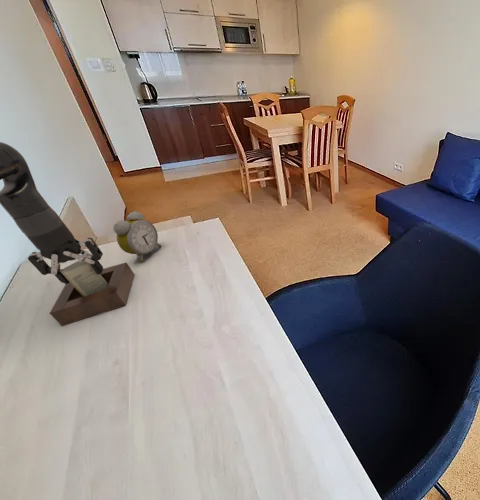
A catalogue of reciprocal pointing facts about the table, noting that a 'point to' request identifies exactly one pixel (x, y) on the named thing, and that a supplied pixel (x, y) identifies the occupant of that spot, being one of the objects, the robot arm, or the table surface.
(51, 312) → the socket block
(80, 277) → the cosmetic box
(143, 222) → the alarm clock
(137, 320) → the table surface
